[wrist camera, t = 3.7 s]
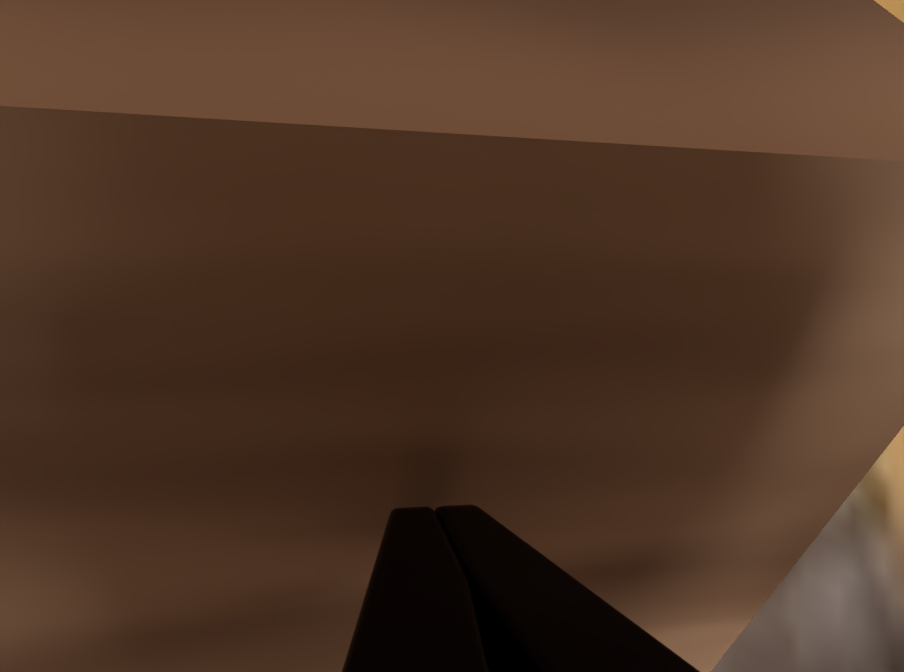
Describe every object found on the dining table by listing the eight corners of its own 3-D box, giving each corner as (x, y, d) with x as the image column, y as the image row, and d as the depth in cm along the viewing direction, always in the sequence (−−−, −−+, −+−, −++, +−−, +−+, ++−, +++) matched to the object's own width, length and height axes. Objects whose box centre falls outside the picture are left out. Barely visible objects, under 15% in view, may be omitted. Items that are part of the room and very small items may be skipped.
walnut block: (659, 736, 14) (1102, 172, 7) (6, 813, 12) (-390, 81, 4) (591, 533, 17) (851, -17, 10) (54, 563, 15) (-139, -134, 7)
